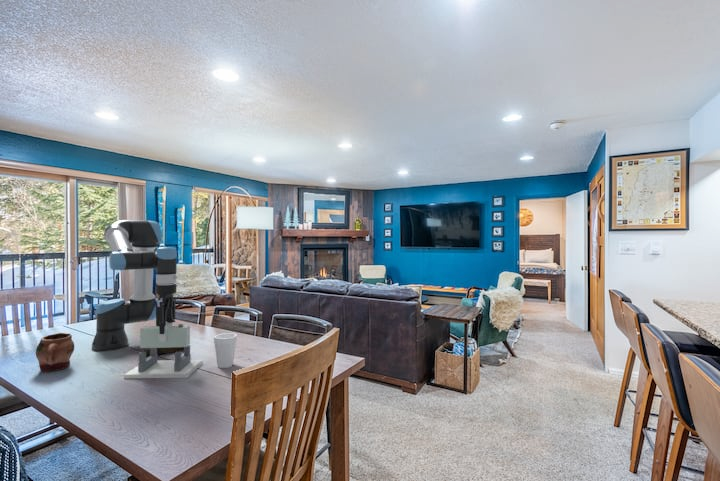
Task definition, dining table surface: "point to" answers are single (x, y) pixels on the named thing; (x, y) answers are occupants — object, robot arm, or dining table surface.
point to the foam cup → (225, 349)
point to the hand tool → (164, 350)
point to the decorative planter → (55, 352)
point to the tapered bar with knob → (175, 337)
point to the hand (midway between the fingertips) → (165, 339)
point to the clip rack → (164, 366)
